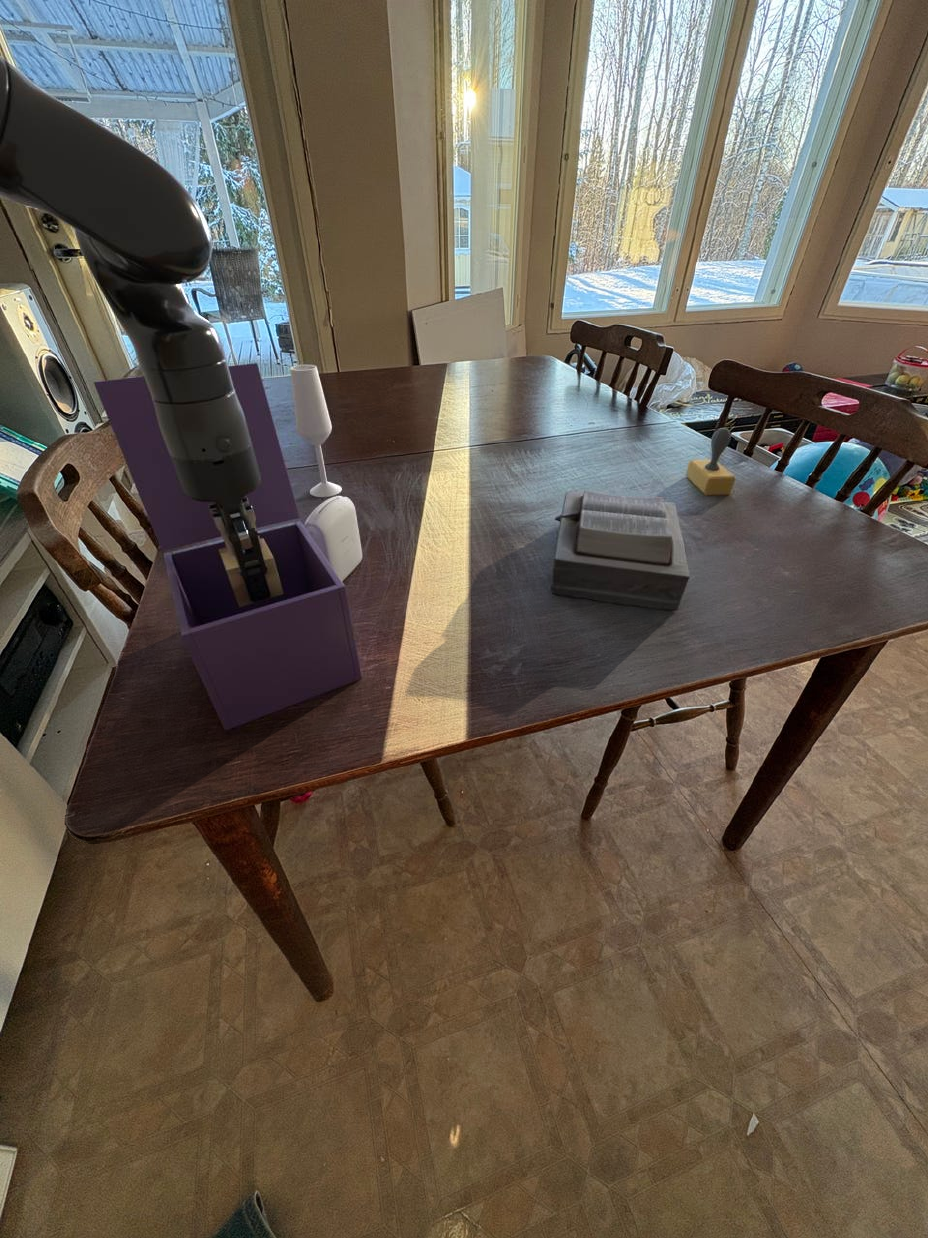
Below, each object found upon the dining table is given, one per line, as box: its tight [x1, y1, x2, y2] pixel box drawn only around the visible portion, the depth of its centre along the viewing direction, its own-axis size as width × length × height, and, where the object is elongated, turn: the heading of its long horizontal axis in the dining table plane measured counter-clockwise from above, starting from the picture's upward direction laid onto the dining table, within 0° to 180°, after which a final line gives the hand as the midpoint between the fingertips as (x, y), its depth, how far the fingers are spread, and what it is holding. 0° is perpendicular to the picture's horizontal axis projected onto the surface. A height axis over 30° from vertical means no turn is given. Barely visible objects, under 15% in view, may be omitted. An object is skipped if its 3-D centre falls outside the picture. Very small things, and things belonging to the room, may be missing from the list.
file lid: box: [93, 362, 301, 551], centre depth 60 cm, size 18×17×1 cm
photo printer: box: [303, 495, 363, 582], centre depth 80 cm, size 10×4×12 cm, turn 160°
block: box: [219, 539, 284, 607], centre depth 59 cm, size 5×5×5 cm
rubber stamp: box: [685, 427, 736, 496], centre depth 106 cm, size 10×6×12 cm, turn 4°
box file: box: [163, 520, 363, 731], centre depth 63 cm, size 18×17×14 cm
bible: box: [549, 489, 691, 611], centre depth 83 cm, size 23×27×10 cm
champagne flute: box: [289, 364, 343, 498], centre depth 101 cm, size 7×7×24 cm
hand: (255, 585), depth 60 cm, fingers closed on block, 5 cm apart
